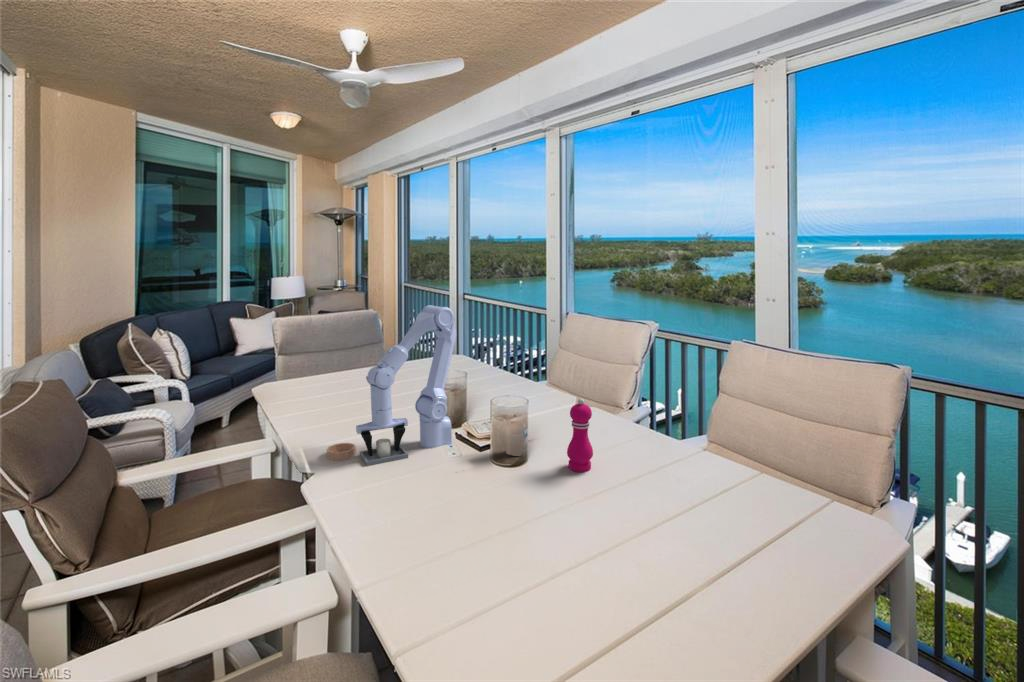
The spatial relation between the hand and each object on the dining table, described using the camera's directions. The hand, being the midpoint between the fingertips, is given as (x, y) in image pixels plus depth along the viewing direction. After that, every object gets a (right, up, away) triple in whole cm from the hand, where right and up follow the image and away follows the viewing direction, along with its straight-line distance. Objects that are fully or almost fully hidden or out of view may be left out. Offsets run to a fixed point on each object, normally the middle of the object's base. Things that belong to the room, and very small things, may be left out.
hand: (383, 452), depth 143 cm
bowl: (-13, -2, +2) cm, 13 cm away
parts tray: (0, -2, 0) cm, 2 cm away
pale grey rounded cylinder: (0, -1, 0) cm, 1 cm away
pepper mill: (+57, -3, -6) cm, 57 cm away
